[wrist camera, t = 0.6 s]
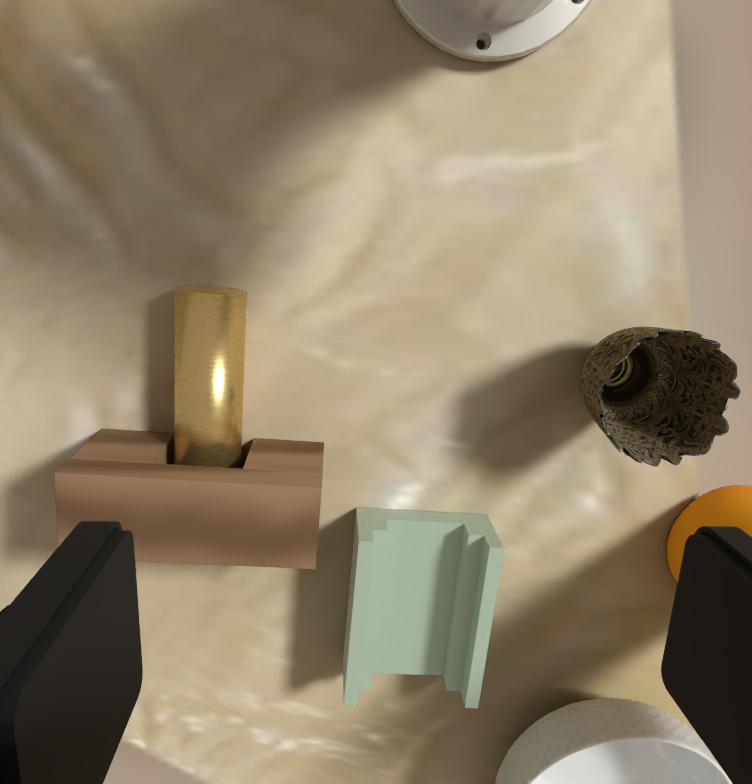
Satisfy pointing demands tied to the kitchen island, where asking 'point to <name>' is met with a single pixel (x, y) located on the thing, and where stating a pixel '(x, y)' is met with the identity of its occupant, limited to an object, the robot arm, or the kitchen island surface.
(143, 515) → the beam
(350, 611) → the v block
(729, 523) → the beer bottle
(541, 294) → the kitchen island surface
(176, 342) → the axle
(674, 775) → the cereal bowl
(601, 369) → the cup
